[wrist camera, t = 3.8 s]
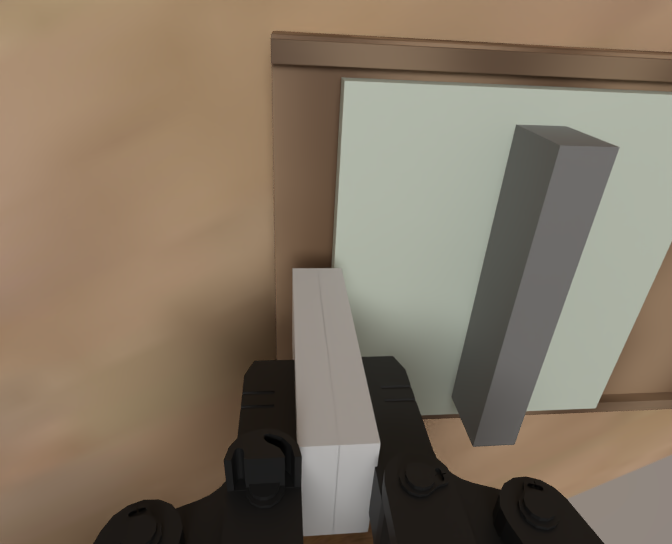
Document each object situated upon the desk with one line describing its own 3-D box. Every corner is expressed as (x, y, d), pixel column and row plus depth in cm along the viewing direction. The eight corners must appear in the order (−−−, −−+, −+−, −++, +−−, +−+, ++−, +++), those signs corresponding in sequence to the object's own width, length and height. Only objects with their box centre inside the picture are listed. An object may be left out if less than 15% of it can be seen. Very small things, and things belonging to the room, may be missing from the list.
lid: (324, 404, 19) (331, 471, 17) (341, 77, 13) (357, 94, 10) (585, 395, 21) (633, 455, 18) (715, 93, 14) (822, 113, 12)
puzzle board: (278, 371, 23) (277, 426, 20) (273, 30, 15) (270, 34, 12) (745, 358, 25) (807, 404, 22) (929, 66, 18) (1058, 76, 15)
